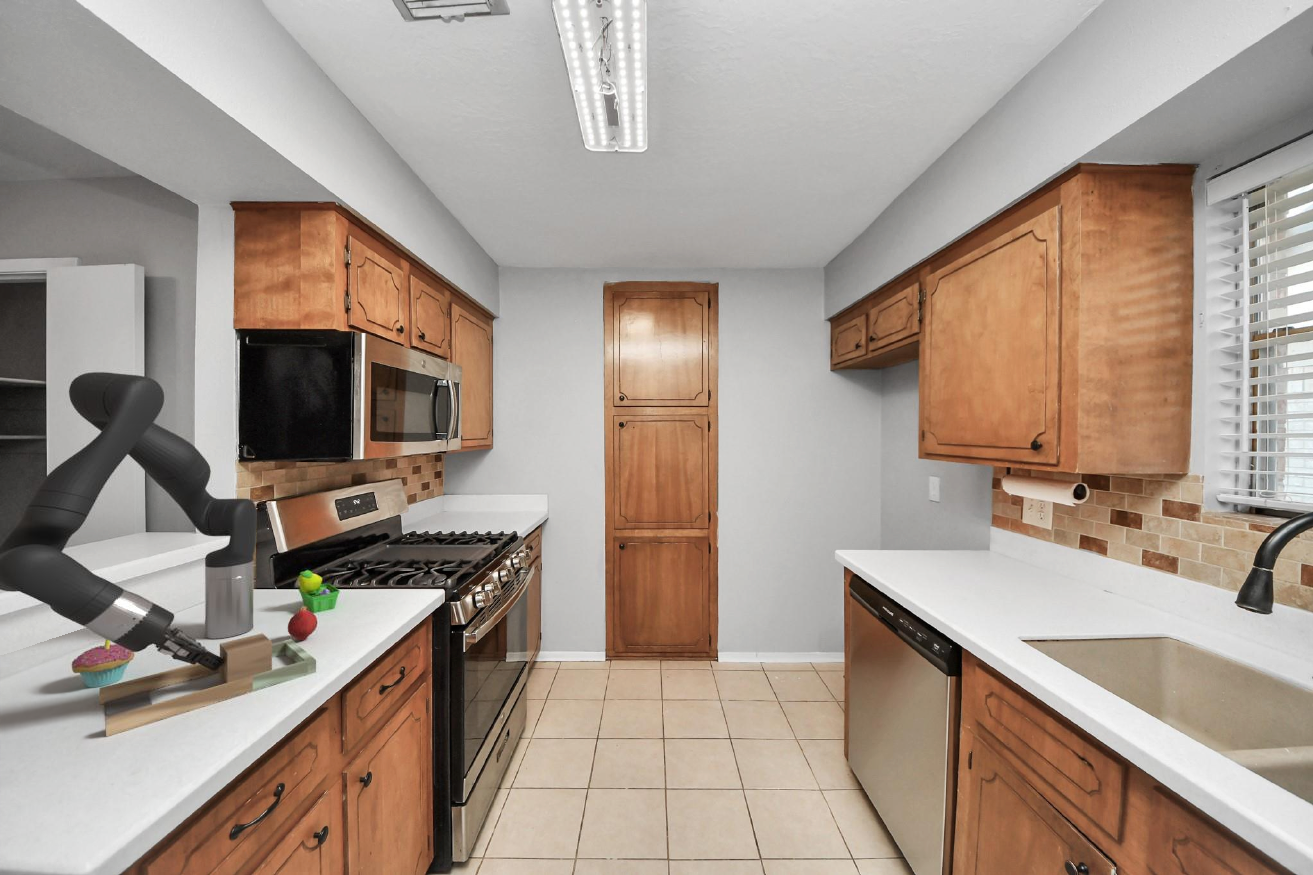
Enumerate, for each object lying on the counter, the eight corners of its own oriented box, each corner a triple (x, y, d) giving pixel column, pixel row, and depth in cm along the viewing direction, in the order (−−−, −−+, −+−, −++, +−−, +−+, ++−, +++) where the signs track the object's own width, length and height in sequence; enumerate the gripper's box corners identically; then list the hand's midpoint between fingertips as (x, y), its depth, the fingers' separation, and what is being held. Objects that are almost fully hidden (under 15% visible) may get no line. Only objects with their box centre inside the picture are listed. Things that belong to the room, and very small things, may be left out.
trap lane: (99, 701, 93) (99, 688, 93) (291, 649, 116) (291, 639, 116) (106, 736, 82) (106, 721, 82) (316, 671, 105) (316, 659, 105)
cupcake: (144, 675, 103) (144, 617, 103) (86, 695, 95) (86, 632, 95) (118, 669, 106) (119, 612, 106) (60, 688, 98) (60, 626, 98)
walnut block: (219, 678, 102) (219, 643, 102) (262, 666, 108) (262, 633, 108) (227, 689, 98) (227, 652, 98) (271, 676, 103) (271, 641, 103)
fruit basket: (341, 608, 144) (341, 568, 144) (304, 616, 137) (304, 575, 137) (328, 600, 152) (328, 562, 152) (292, 607, 145) (292, 568, 145)
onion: (302, 646, 118) (302, 611, 118) (281, 644, 119) (281, 610, 119) (323, 636, 124) (323, 603, 124) (303, 634, 125) (303, 602, 125)
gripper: (155, 609, 88) (244, 656, 98) (146, 594, 97) (229, 638, 106) (110, 649, 84) (208, 694, 93) (105, 630, 93) (195, 673, 102)
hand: (219, 665), depth 100 cm, fingers closed
